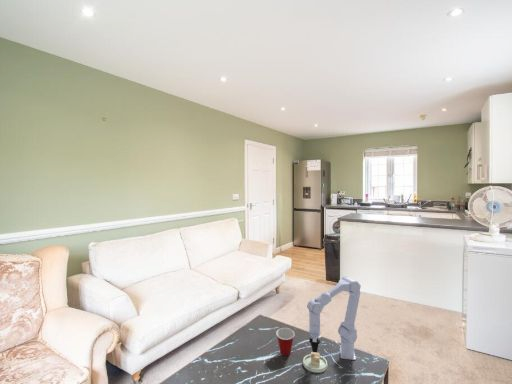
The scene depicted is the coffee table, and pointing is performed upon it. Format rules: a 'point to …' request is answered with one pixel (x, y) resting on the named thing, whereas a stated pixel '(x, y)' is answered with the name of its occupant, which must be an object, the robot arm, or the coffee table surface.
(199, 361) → the coffee table surface
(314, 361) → the birch block
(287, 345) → the plastic cup
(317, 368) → the celadon dish
